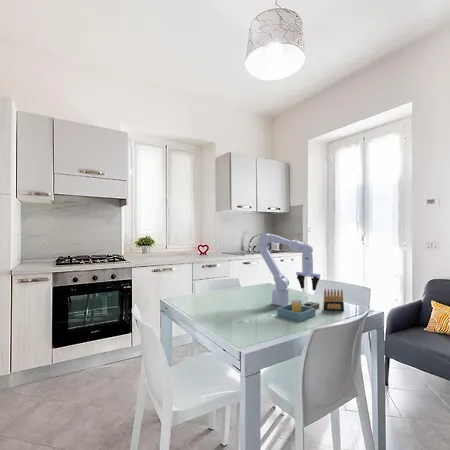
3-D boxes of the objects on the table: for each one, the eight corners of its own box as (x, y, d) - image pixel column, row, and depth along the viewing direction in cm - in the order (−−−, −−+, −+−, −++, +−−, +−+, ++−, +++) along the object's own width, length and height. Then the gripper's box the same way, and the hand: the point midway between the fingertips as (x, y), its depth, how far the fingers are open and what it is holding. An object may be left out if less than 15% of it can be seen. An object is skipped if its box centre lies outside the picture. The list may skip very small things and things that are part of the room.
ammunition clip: (324, 310, 159) (323, 289, 160) (323, 309, 161) (323, 288, 161) (344, 311, 158) (343, 289, 159) (343, 310, 160) (342, 288, 160)
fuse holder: (296, 310, 160) (296, 305, 160) (309, 305, 169) (309, 300, 169) (306, 312, 156) (306, 307, 156) (319, 307, 165) (319, 302, 165)
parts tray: (277, 315, 151) (277, 308, 151) (292, 310, 161) (292, 303, 161) (300, 321, 141) (300, 313, 141) (315, 315, 150) (315, 308, 150)
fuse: (291, 313, 151) (291, 300, 151) (296, 312, 153) (296, 299, 153) (296, 315, 149) (296, 301, 149) (301, 313, 151) (301, 300, 151)
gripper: (322, 265, 164) (323, 289, 164) (300, 264, 175) (301, 286, 175) (316, 267, 160) (316, 291, 159) (294, 265, 170) (294, 288, 170)
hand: (308, 289), depth 167 cm, fingers open, 7 cm apart
